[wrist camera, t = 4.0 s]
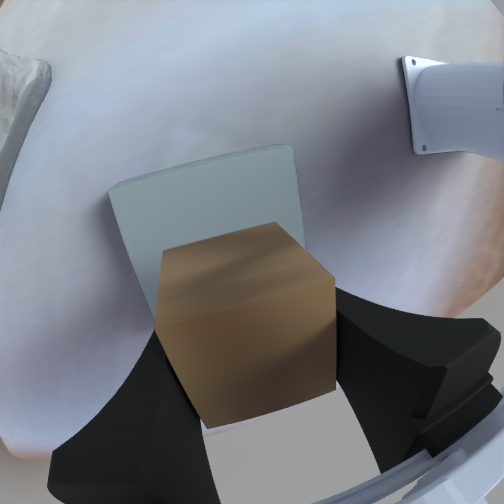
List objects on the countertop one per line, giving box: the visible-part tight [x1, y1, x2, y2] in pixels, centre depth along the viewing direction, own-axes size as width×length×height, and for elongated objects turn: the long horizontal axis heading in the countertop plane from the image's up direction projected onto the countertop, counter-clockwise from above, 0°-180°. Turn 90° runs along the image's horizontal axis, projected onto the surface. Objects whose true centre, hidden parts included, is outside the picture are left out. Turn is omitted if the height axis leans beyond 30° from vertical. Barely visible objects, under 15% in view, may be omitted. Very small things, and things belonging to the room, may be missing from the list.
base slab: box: [108, 144, 306, 320], centre depth 18 cm, size 10×10×3 cm
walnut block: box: [154, 222, 337, 429], centre depth 10 cm, size 4×4×5 cm
